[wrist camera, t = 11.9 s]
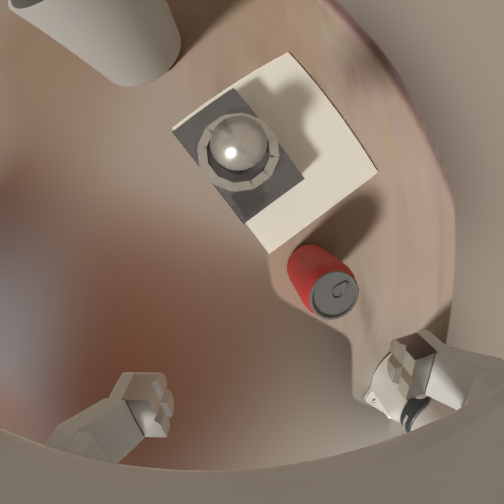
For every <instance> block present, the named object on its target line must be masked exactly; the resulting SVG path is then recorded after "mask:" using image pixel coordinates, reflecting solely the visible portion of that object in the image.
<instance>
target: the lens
mask: <svg viewBox="0 0 504 504" xmlns="http://www.w3.org/2000/svg"><path fill="white" fill-rule="evenodd" d="M210 148H211V152H212V154H213V156H214V158H215V159H216V160H217V162H218V163H220V164H221V165H222V166H223V167H224V168H225V169H227V170H228V171H231V172H235V173H242V172H246V171H248V170H250V169H252V168H253V167H254V166H255V165H256V164H257V163H258V162H259V161H260V160H261V159H262V158H263V156H264V154H265V152H266V149H267V137H266V134H265V131H264V129H263V128H262V126H261V125H260V124H259V123H258V122H256V121H255V120H253V119H251V118H249V117H246V116H232V117H229V118H226V119H224V120H223V121H221V122H220V123H219V124H218V125H217V126H216V127H215V129H214V130H213V132H212V135H211V138H210Z"/></svg>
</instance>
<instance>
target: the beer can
mask: <svg viewBox="0 0 504 504" xmlns="http://www.w3.org/2000/svg"><path fill="white" fill-rule="evenodd" d="M287 272H288V275H289V278H290V280H291V282H292V283H293V285H294V287H295V289H296V291H297V293H298V294H299V296H300V298H301V300H302V302H303V304H304V305H305V306H306V307H307V308H308V310H309V311H311V312H313V313H314V314H316V315H318V316H319V317H321V318H323V319H329V320H332V319H338V318H340V317H342V316H345V315H346V314H347V313H348V312H350V311H351V310H352V308H353V307H354V305H355V304H356V301H357V299H358V291H359V289H358V285H357V282H356V280H355V277H354V274H353V273H352V271H351V270H350V269H349V267H348V266H346V265H345V264H344V263H342V262H341V261H340V260H338V259H337V258H336V257H335V256H333V255H332V254H331V253H329V252H328V251H327V250H325V249H324V248H322V247H321V246H319V245H315V244H306V245H303V246H301V247H299V248H298V249H296V250H295V251H294V252H293V253H292V255H291V256H290V258H289V261H288V264H287Z"/></svg>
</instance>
